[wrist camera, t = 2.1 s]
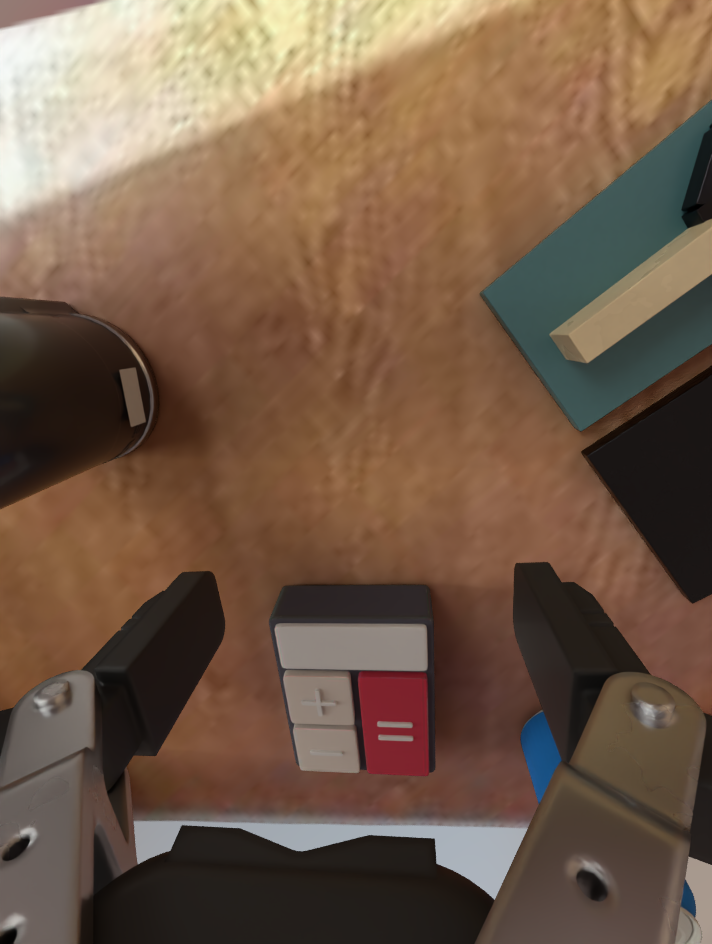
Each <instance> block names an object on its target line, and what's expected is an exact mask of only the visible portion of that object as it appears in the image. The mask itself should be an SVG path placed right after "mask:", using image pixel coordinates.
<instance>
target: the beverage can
mask: <svg viewBox="0 0 712 944" xmlns="http://www.w3.org/2000/svg"><path fill="white" fill-rule="evenodd" d="M521 745H522V749H523V752H524V755H525V759H526V762H527V766H528V769H529V772H530V776H531V779H532V782H533V786H534V789H535V793H536V796H537V799H538V803H540V801H541V799H542V797H543V795H544V793H545V790H546V788H547V786H548V784H549V782H550V780H551V778H552V775H553V773H554V771H555V769H556V768H557V766H558V764H559V763H560V762H561V761H562V760H561V757H560V754H559V752H558V749H557V746H556V744H555V741H554V738H553V736H552V733H551V730H550V728H549V725H548V722H547V720H546V717H545V714H544V712H543V710H541V711H539V712H538V713H536V714H535V715H534V716H533V717H531V718H530V719H529V720H528V721H527V722H526V724H525V725H524V727H523V729H522V732H521ZM695 915H696V906H695V900H694V896H693V893H692V891H691V889H690V887H689V885H688V884H687V882H686V880H685V882H684V889H683V895H682V902H681V908H680V915H679V921H678V928H677V934H676V941H675V944H700V943H701V939H702V932H701V928H700V925H699V924H698V922H697V920H696V919H695Z"/></svg>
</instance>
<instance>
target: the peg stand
mask: <svg viewBox="0 0 712 944" xmlns="http://www.w3.org/2000/svg"><path fill="white" fill-rule="evenodd" d="M711 124H712V100H710V101H709V102H708V103H707V104H706V105H704V106H703V107H702V108H701V109H700V110H698V111H697V112H696V113H695V114H694V115H692V116H691V117H690V118H689V119H688V120H686V121H685V122H684V123H683V124H682V125H680V126H679V127H678V128H677V129H676V130H674V131H673V132H672V133H671V134H670V135H669V136H667V137H666V138H665V139H664V140H663V141H661V142H660V143H659V144H658V145H657V146H655V147H654V148H653V149H652V150H651V151H649V152H648V153H647V154H646V155H645V156H643V157H642V158H641V159H640V160H639V161H637V162H636V163H635V164H634V165H633V166H631V167H630V168H629V169H628V170H627V171H625V172H624V173H623V174H622V175H621V176H619V177H618V178H617V179H616V180H615V181H613V182H612V183H611V184H610V185H609V186H607V187H606V188H605V189H604V190H603V191H601V192H600V193H599V194H598V195H597V196H595V197H594V198H593V199H592V200H591V201H589V202H588V203H587V204H586V205H585V206H583V207H582V208H581V209H580V210H579V211H577V212H576V213H575V214H574V215H573V216H571V217H570V218H569V219H568V220H567V221H565V222H564V223H563V224H562V225H561V226H559V227H558V228H557V229H556V230H555V231H554V232H552V233H551V234H550V235H549V236H548V237H546V238H545V239H544V240H543V241H542V242H540V243H539V244H538V245H537V246H536V247H534V248H533V249H532V250H531V251H530V252H528V253H527V254H526V255H525V256H524V257H522V258H521V259H520V260H519V261H518V262H516V263H515V264H514V265H513V266H512V267H510V268H509V269H508V270H507V271H506V272H504V273H503V274H502V275H501V276H500V277H498V278H497V279H496V280H495V281H494V282H492V283H491V284H490V285H489V286H488V287H486V288H485V289H484V290H483V291H482V292H480V295H481V297H482V298H483V300H484V301H485V302H486V304H487V305H488V307H489V308H490V309H491V311H492V312H493V314H494V315H495V317H496V318H497V319H498V321H499V322H500V324H501V325H502V326H503V328H504V329H505V331H506V332H507V333H508V335H509V336H510V338H511V339H512V341H513V342H514V343H515V345H516V346H517V348H518V349H519V350H520V352H521V353H522V355H523V356H524V357H525V359H526V360H527V362H528V363H529V365H530V366H531V367H532V369H533V370H534V372H535V373H536V374H537V376H538V377H539V379H540V380H541V381H542V383H543V384H544V386H545V387H546V389H547V390H548V391H549V393H550V394H551V396H552V397H553V398H554V400H555V401H556V403H557V404H558V405H559V407H560V408H561V410H562V411H563V413H564V414H565V415H566V417H567V418H568V420H569V421H570V422H571V424H572V425H573V427H574V428H576V429H577V430H579V431H583V430H584V429H586V428H587V427H589V426H590V425H592V424H593V423H595V422H596V421H598V420H599V419H601V418H602V417H604V416H605V415H607V414H608V413H610V412H611V411H613V410H614V409H616V408H617V407H618V406H620V405H621V404H623V403H624V402H626V401H627V400H629V399H630V398H632V397H633V396H635V395H636V394H638V393H639V392H641V391H642V390H644V389H645V388H647V387H648V386H650V385H651V384H653V383H654V382H656V381H657V380H659V379H660V378H662V377H663V376H665V375H666V374H668V373H669V372H671V371H672V370H674V369H675V368H677V367H678V366H680V365H681V364H683V363H684V362H686V361H687V360H689V359H690V358H692V357H693V356H695V355H696V354H698V353H699V352H700V351H702V350H703V349H705V348H706V347H708V346H709V345H711V344H712V275H710V276H709V277H707V278H706V279H705V280H703V281H702V282H700V283H699V284H698V285H696V286H695V287H693V288H692V289H691V290H689V291H688V292H686V293H685V294H684V295H682V296H681V297H679V298H678V299H677V300H675V301H674V302H672V303H671V304H670V305H668V306H667V307H666V308H664V309H663V310H661V311H660V312H659V313H657V314H656V315H654V316H653V317H652V318H650V319H649V320H647V321H646V322H645V323H643V324H642V325H640V326H639V327H638V328H636V329H635V330H633V331H632V332H631V333H629V334H628V335H626V336H625V337H624V338H622V339H621V340H620V341H618V342H617V343H615V344H614V345H613V346H611V347H610V348H608V349H607V350H606V351H604V352H603V353H601V354H600V355H599V356H597V357H596V358H594V359H593V360H592V361H590V362H589V363H583V362H577V361H572V360H567V359H566V358H565V357H564V356H563V354H562V353H561V351H560V350H559V348H558V347H557V345H556V344H555V342H554V341H553V339H552V338H551V337H550V335H549V334H550V333H551V332H552V331H554V330H555V329H556V328H558V327H559V326H560V325H562V324H563V323H564V322H566V321H567V320H568V319H570V318H571V317H572V316H573V315H575V314H576V313H577V312H579V311H580V310H581V309H583V308H584V307H585V306H587V305H588V304H589V303H591V302H592V301H593V300H595V299H596V298H597V297H598V296H600V295H601V294H602V293H604V292H605V291H606V290H608V289H609V288H610V287H612V286H613V285H614V284H616V283H617V282H618V281H620V280H621V279H622V278H623V277H625V276H626V275H627V274H629V273H630V272H631V271H633V270H634V269H635V268H637V267H638V266H639V265H641V264H642V263H643V262H645V261H646V260H647V259H648V258H650V257H651V256H652V255H654V254H655V253H656V252H658V251H659V250H660V249H662V248H663V247H664V246H666V245H667V244H668V243H670V242H671V241H672V240H673V239H675V238H676V237H677V236H679V235H680V234H681V233H683V232H684V231H685V230H687V229H688V228H687V226H686V224H685V223H684V221H683V219H682V217H681V216H682V215H683V214H685V213H686V212H687V211H682V210H681V208H682V205H683V202H684V198H685V195H686V192H687V188H688V185H689V182H690V178H691V175H692V172H693V168H694V165H695V162H696V158H697V155H698V152H699V148H700V145H701V142H702V138H703V135H704V133H705V132H707V131H708V130H710V128H709V126H710V125H711Z"/></svg>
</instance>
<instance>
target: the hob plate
mask: <svg viewBox="0 0 712 944" xmlns="http://www.w3.org/2000/svg"><path fill="white" fill-rule="evenodd" d="M581 453H582V455H583V456H584V457H585V459H586V460H587V461H588V463H589V464H590V466H591V467H592V468H593V470H594V471H595V473H596V474H597V475H598V477H599V478H600V480H601V481H602V482H603V484H604V485H605V487H606V488H607V489H608V491H609V492H610V494H611V495H612V496H613V498H614V499H615V501H616V502H617V503H618V505H619V506H620V508H621V509H622V510H623V512H624V513H625V515H626V516H627V517H628V519H629V520H630V522H631V523H632V524H633V526H634V527H635V529H636V530H637V531H638V533H639V534H640V536H641V537H642V538H643V540H644V541H645V543H646V544H647V545H648V547H649V548H650V550H651V551H652V552H653V554H654V555H655V557H656V558H657V559H658V561H659V562H660V564H661V565H662V566H663V568H664V569H665V571H666V572H667V573H668V575H669V576H670V578H671V579H672V580H673V582H674V583H675V585H676V586H677V587H678V589H679V590H680V592H681V593H682V594H683V596H685V597H686V598H687V599H688V600H689V601H690V602H691V603H695V602H697V601H699V600H701V599H703V598H705V597H707V596H709V595H711V594H712V366H711V367H709V368H708V369H706V370H705V371H703V372H702V373H700V374H699V375H697V376H696V377H694V378H693V379H691V380H690V381H688V382H686V383H685V384H683V385H682V386H680V387H679V388H677V389H676V390H674V391H673V392H671V393H670V394H668V395H667V396H665V397H664V398H662V399H661V400H659V401H658V402H656V403H654V404H653V405H651V406H650V407H648V408H647V409H645V410H644V411H642V412H641V413H639V414H638V415H636V416H635V417H633V418H632V419H630V420H629V421H627V422H625V423H624V424H622V425H621V426H619V427H618V428H616V429H615V430H613V431H612V432H610V433H609V434H607V435H606V436H604V437H603V438H601V439H600V440H598V441H597V442H595V443H593V444H592V445H590V446H589V447H587V448H586V449H584V450H583V451H581Z"/></svg>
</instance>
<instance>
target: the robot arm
mask: <svg viewBox="0 0 712 944" xmlns="http://www.w3.org/2000/svg"><path fill="white" fill-rule="evenodd" d="M158 410H159V395H158V388H157V383H156V380H155V376H154V374H153V371H152V369H151V366H150V364H149V362H148V361H147V359H146V357H145V356H144V354H143V353H142V351H141V350H140V348H139V347H138V346H137V345H136V344H135V343H134V341H133V340H132V339H131V338H130V337H129V336H127V335H126V334H125V333H124V332H123V331H121V330H120V329H119V328H117V327H116V326H114V325H112V324H111V323H109V322H107V321H105V320H103V319H100V318H97V317H94V316H90V315H85V314H78V313H77V312H75V311H74V310H73V309H72V308H71V307H70V306H69V305H68V304H67V303H66V302H59V301H47V300H35V299H23V298H11V297H0V509H2V508H4V507H7V506H9V505H11V504H13V503H16V502H18V501H20V500H22V499H24V498H27V497H29V496H31V495H33V494H36V493H38V492H40V491H42V490H44V489H47V488H49V487H51V486H53V485H56V484H58V483H60V482H62V481H64V480H67V479H69V478H71V477H73V476H75V475H78V474H80V473H82V472H84V471H87V470H89V469H91V468H93V467H95V466H97V465H100V464H103V463H106V462H108V461H111V460H113V459H116V458H119V457H121V456H124V455H126V454H128V453H130V452H132V451H134V450H135V449H137V448H138V447H139V446H141V445H142V444H143V443H144V442H145V441H146V440H147V438H148V437H149V435H150V434H151V432H152V430H153V428H154V426H155V423H156V420H157V416H158ZM513 623H514V631H515V635H516V639H517V643H518V645H519V648H520V651H521V653H522V656H523V659H524V661H525V664H526V667H527V669H528V672H529V675H530V677H531V680H532V683H533V685H534V688H535V691H536V693H537V696H538V699H539V701H540V704H541V706H542V709H543V712H544V714H545V717H546V720H547V722H548V725H549V728H550V730H551V733H552V736H553V738H554V741H555V744H556V746H557V749H558V752H559V754H560V757H561V760H562V761H561V762H560V763H559V764H558V766H557V768H556V769H555V771H554V773H553V775H552V778H551V780H550V782H549V784H548V786H547V788H546V790H545V793H544V795H543V797H542V799H541V801H540V803H539V806H538V808H537V810H536V812H535V814H534V816H533V819H532V821H531V823H530V825H529V827H528V829H527V832H526V834H525V836H524V838H523V840H522V842H521V845H520V847H519V849H518V851H517V853H516V855H515V857H514V860H513V862H512V864H511V866H510V868H509V871H508V873H507V875H506V877H505V879H504V881H503V883H502V886H501V888H500V890H499V892H498V894H497V896H496V899H495V900H494V899H493V898H492V897H491V896H489V894H487V893H486V892H485V891H484V890H482V889H481V888H480V887H478V886H477V885H476V884H474V883H473V882H472V881H470V880H469V879H467V878H465V877H464V876H461V875H460V874H458V873H456V872H454V871H453V870H450V869H448V868H446V867H443V866H441V865H438V864H436V851H435V839H431V838H412V837H392V836H373V835H368V836H364V837H360V838H356V839H352V840H348V841H344V842H340V843H336V844H332V845H328V846H324V847H320V848H316V849H312V850H308V851H303V852H301V851H295V850H291V849H289V848H287V847H284V846H281V845H279V844H277V843H274V842H272V841H270V840H267V839H264V838H262V837H260V836H257V835H255V834H252V833H250V832H248V831H245V830H243V829H240V828H223V827H204V826H202V827H201V826H184V825H182V826H181V828H180V831H179V833H178V835H177V837H176V840H175V842H174V844H173V846H172V849H171V851H169V852H165V853H162V854H160V855H157V856H155V857H152V858H150V859H148V860H146V861H144V862H142V863H140V864H137V857H136V848H135V835H134V824H133V811H132V798H131V786H130V776H129V772H128V770H127V767H126V766H127V765H128V763H129V762H130V760H131V759H132V757H133V755H139V756H156V755H157V753H158V751H159V750H160V748H161V746H162V744H163V743H164V741H165V739H166V737H167V736H168V734H169V732H170V731H171V729H172V727H173V725H174V724H175V722H176V720H177V718H178V717H179V715H180V713H181V711H182V710H183V708H184V706H185V705H186V703H187V701H188V699H189V698H190V696H191V694H192V692H193V691H194V689H195V687H196V685H197V684H198V682H199V680H200V679H201V677H202V675H203V673H204V672H205V670H206V668H207V666H208V665H209V663H210V661H211V660H212V658H213V656H214V654H215V653H216V651H217V649H218V647H219V646H220V644H221V642H222V639H223V636H224V631H225V618H224V613H223V609H222V605H221V600H220V596H219V592H218V587H217V583H216V579H215V576H214V574H213V573H212V572H210V571H200V572H182V573H181V574H180V575H179V576H178V577H177V578H176V579H175V580H174V581H173V582H172V583H171V585H170V586H169V587H168V588H167V589H166V590H165V591H162V592H160V593H159V594H157V595H156V596H154V597H153V598H151V599H150V600H148V601H147V602H145V603H144V604H143V605H142V606H141V607H140V608H139V609H138V610H137V611H136V612H135V614H134V615H133V616H132V619H129V620H128V621H127V622H126V623H125V624H124V625H123V626H122V627H121V631H118V632H117V633H116V634H115V635H114V636H113V637H112V638H111V639H110V640H109V641H108V642H107V643H106V644H105V645H104V646H103V647H102V648H101V650H100V651H99V652H98V653H97V654H96V655H95V656H94V657H93V658H92V659H91V660H90V661H89V662H88V663H87V664H86V665H85V666H84V668H83V669H82V670H75V671H69V672H65V673H62V674H59V675H56V676H54V677H52V678H50V679H48V680H46V681H44V682H42V683H40V684H39V685H37V686H36V687H34V688H33V689H32V690H30V691H29V692H28V693H27V694H25V695H24V696H23V697H22V698H21V699H20V700H19V701H18V703H17V704H16V705H15V707H14V708H11V709H6V710H2V711H0V944H675V941H676V934H677V928H678V921H679V915H680V908H681V902H682V895H683V889H684V882H685V875H686V869H687V862H688V856H689V857H692V858H694V859H698V860H700V861H703V862H705V863H708V864H711V865H712V716H711V715H708V714H706V713H703V712H702V710H701V708H700V707H699V706H698V704H697V703H696V702H695V701H694V700H693V699H692V698H691V697H690V696H689V695H688V694H686V693H685V692H684V691H682V690H681V689H680V688H678V687H677V686H675V685H673V684H671V683H669V682H667V681H665V680H663V679H661V678H658V677H655V676H652V675H651V674H650V673H649V671H648V670H647V669H646V667H645V666H644V665H643V663H642V662H641V661H640V659H639V658H638V656H637V655H636V654H635V652H634V651H633V650H632V648H631V647H630V645H629V644H628V643H627V641H626V640H625V639H624V637H623V636H622V634H621V633H620V632H619V630H618V629H617V628H616V627H614V625H613V622H612V621H611V619H610V618H609V617H608V615H607V614H606V613H604V610H603V608H602V607H601V606H600V604H599V603H598V602H597V600H596V599H595V597H594V596H593V595H592V594H591V593H589V592H588V591H586V590H585V589H583V588H582V587H580V586H579V585H577V584H576V583H575V582H561V581H560V579H559V577H558V576H557V574H556V573H555V571H554V570H553V568H552V567H551V565H550V564H549V563H548V562H536V563H516V565H515V569H514V597H513Z"/></svg>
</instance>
